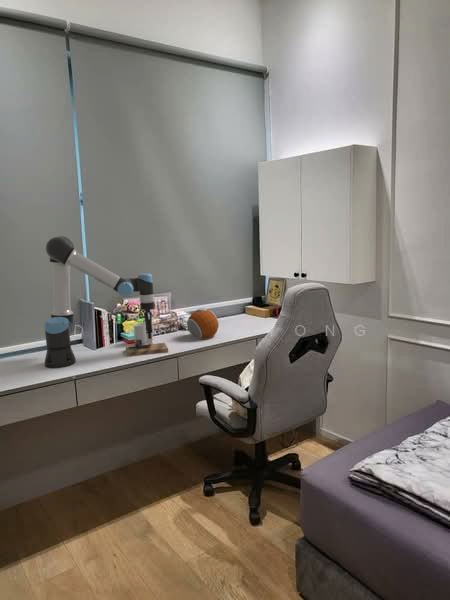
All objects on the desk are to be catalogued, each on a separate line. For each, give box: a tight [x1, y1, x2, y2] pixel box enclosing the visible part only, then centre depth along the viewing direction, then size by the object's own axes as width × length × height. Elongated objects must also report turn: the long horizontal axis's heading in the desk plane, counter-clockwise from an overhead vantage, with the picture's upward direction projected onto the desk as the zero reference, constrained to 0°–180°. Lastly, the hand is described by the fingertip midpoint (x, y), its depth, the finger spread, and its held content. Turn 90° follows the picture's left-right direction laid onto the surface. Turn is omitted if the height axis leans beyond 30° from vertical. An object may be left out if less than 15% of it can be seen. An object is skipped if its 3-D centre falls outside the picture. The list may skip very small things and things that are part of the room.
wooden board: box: [125, 342, 169, 357], centre depth 264 cm, size 22×13×2 cm, turn 105°
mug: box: [133, 322, 155, 345], centre depth 282 cm, size 12×9×11 cm
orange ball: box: [186, 307, 220, 340], centre depth 291 cm, size 19×18×17 cm
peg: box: [127, 340, 152, 348], centre depth 263 cm, size 13×3×9 cm, turn 105°
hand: (149, 343), depth 265 cm, fingers closed on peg, 2 cm apart
